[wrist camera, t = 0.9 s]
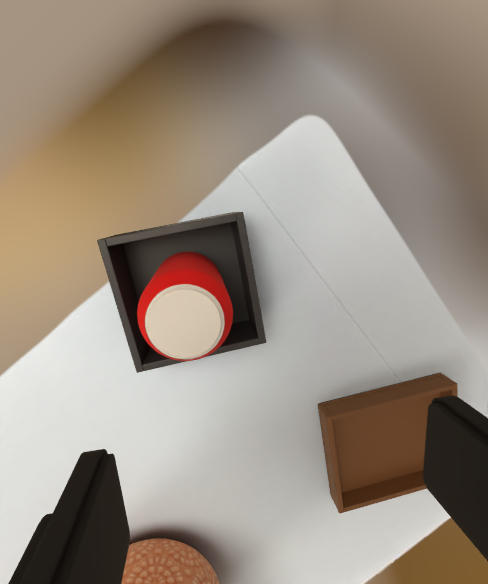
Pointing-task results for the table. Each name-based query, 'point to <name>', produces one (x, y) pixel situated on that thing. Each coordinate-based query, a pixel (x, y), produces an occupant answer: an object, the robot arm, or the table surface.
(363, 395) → the tray
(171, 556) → the planter
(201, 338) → the beverage can
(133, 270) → the bin
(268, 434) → the table surface
